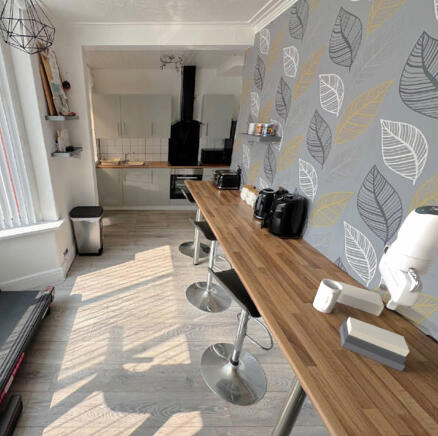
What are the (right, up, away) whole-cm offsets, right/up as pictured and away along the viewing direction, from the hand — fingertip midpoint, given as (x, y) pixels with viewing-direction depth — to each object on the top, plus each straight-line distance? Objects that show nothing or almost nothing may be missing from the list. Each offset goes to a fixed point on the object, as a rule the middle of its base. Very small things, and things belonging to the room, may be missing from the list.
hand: (385, 298), depth 73 cm
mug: (-3, -13, +23) cm, 26 cm away
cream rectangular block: (+2, -15, +5) cm, 16 cm away
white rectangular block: (+15, -11, +28) cm, 34 cm away
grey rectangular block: (+1, -20, +7) cm, 21 cm away
